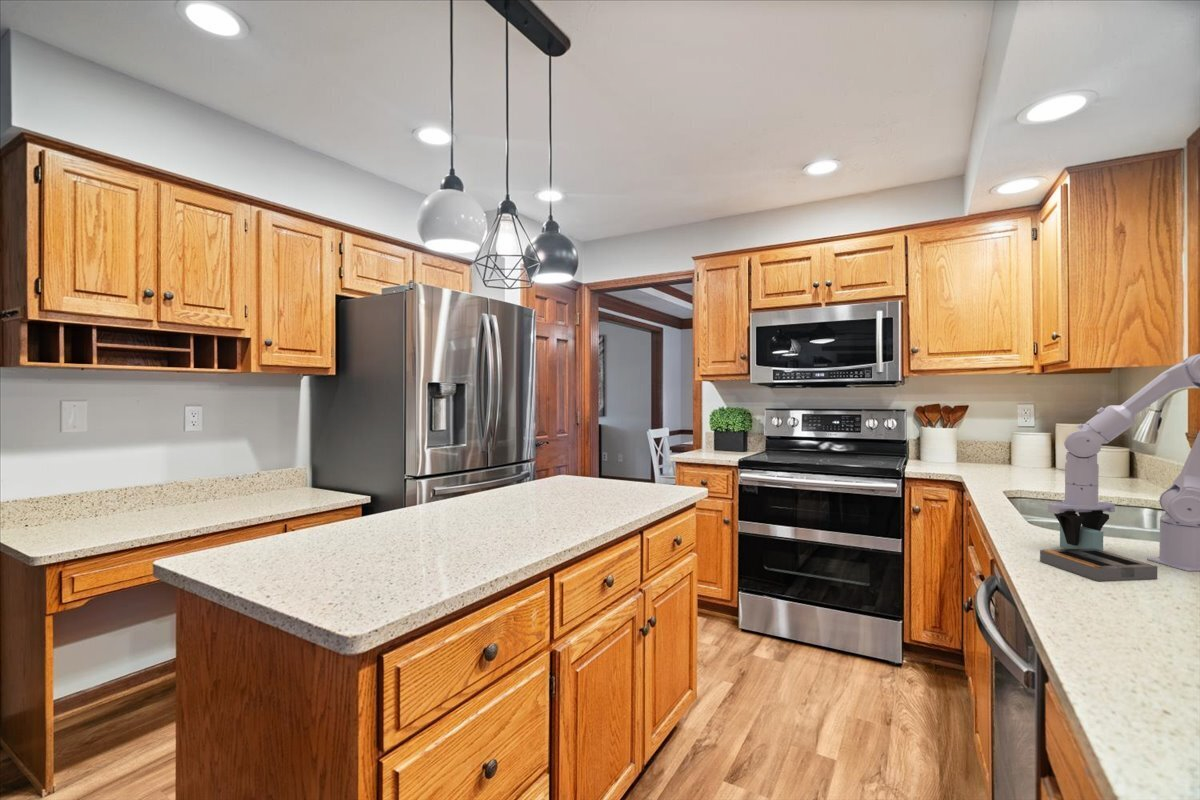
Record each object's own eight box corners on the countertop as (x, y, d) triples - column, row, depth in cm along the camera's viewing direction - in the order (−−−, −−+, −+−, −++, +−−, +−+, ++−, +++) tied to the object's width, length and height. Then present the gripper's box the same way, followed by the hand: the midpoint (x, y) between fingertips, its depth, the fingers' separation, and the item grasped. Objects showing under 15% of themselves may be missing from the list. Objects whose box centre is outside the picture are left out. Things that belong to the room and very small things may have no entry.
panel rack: (1094, 559, 121) (1094, 546, 121) (1157, 578, 109) (1157, 565, 108) (1039, 561, 120) (1040, 548, 120) (1097, 581, 107) (1097, 567, 107)
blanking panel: (1069, 546, 131) (1069, 523, 131) (1103, 556, 123) (1103, 531, 123) (1059, 547, 131) (1060, 523, 131) (1093, 557, 123) (1093, 532, 123)
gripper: (1093, 480, 131) (1093, 538, 132) (1036, 481, 130) (1035, 540, 130) (1124, 485, 124) (1124, 546, 125) (1064, 487, 123) (1063, 549, 123)
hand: (1080, 544), depth 127 cm, fingers open, 4 cm apart
